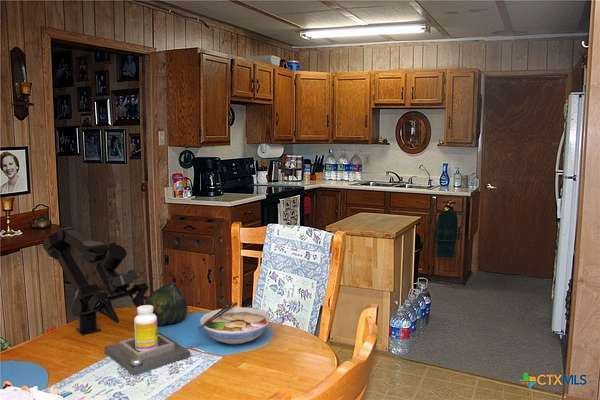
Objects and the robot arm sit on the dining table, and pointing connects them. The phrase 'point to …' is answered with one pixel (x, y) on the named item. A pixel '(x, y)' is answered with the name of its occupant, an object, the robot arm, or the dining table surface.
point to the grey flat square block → (146, 354)
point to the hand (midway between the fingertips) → (131, 318)
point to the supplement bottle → (145, 328)
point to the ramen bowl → (235, 324)
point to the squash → (168, 304)
